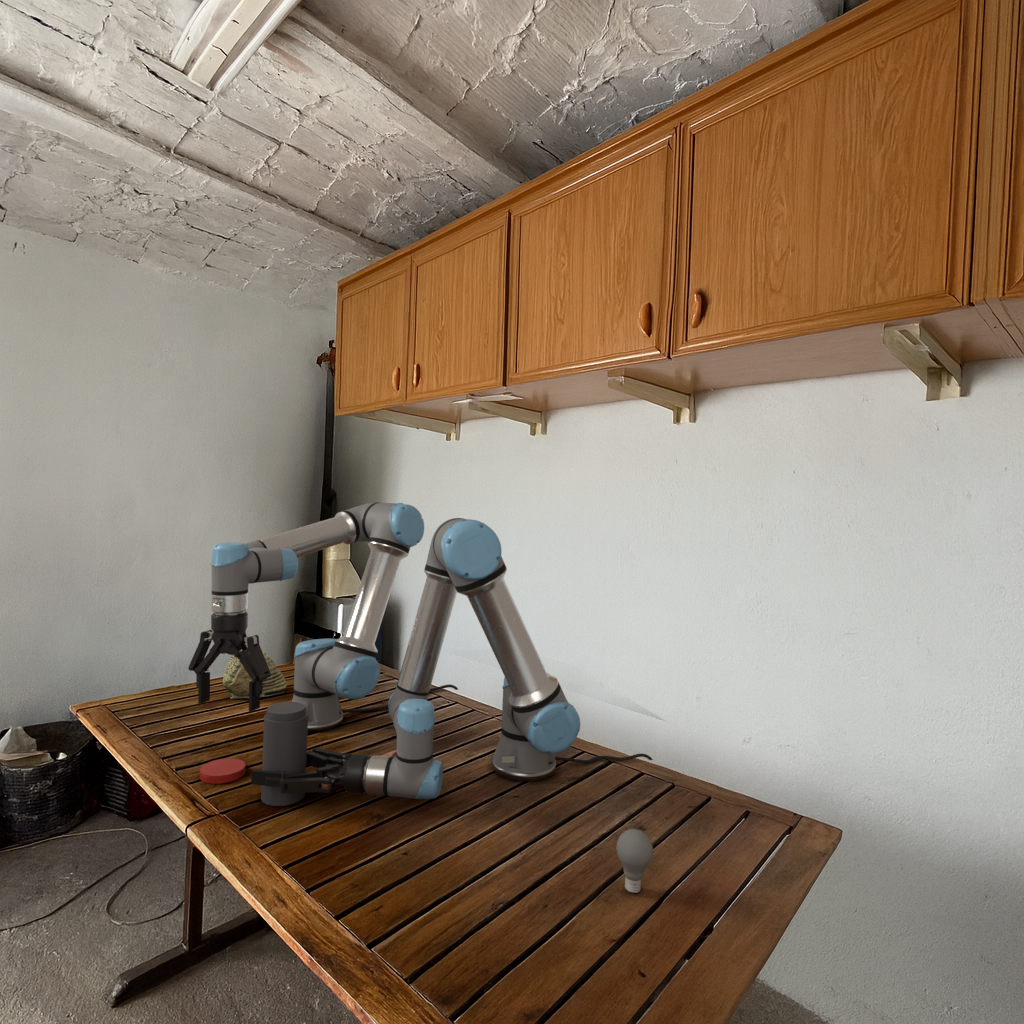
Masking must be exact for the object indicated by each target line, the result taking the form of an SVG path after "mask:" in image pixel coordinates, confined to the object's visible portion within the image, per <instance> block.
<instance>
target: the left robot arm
mask: <svg viewBox="0 0 1024 1024" xmlns="http://www.w3.org/2000/svg"><path fill="white" fill-rule="evenodd" d="M424 535H425V521H424V519H423V515H422V514H421V512H420V510H418V508H417V507H415V506H414V505H411V504H407V503H403V502H397V503H394V502H380V501H374V502H368V503H364V504H361V505H358V506H354V507H351V508H348V509H345V510H341V511H338V512H337V513H336V514H335V515H334V517H330V518H328V519H324V520H320V521H317V522H314V523H310V524H307V525H304V526H300V527H298V528H294V529H291V530H287V531H283V532H281V533H277V534H273V535H270V536H267V537H263V538H260V539H258V540H254V541H249V542H247V543H246V542H219V543H216V544H214V545H213V547H212V551H211V562H210V566H211V605H210V606H211V610H210V611H211V612H213V613H212V614H211V615H210V629H208V630H204V631H201V632H200V635H199V642H198V643H197V646H196V648H195V651H194V653H193V656H192V658H191V660H190V662H189V665H188V667H187V668H188V671H190V672H192V671H193V672H194V674H195V675H196V676H195V677H196V678H195V679H196V681H195V682H196V683H195V685H196V688H198V691H197V692H198V693H197V695H198V697H197V699H198V700H197V701H198V702H197V704H198V705H202V704H205V703H206V702H209V701H210V700H211V672H210V671H209V668H210V667H212V665H213V663H215V661H216V660H217V658H218V657H219V656H220V654H221V655H225V654H226V655H229V656H231V655H233V654H234V656H235V657H236V658H238V659H239V660H240V662H241V664H242V665H243V667H244V668H245V670H246V671H247V673H248V674H249V676H250V677H251V679H252V681H250V682H249V698H248V712H255V711H256V710H258V709H260V708H261V697H260V695H261V694H262V692H263V690H262V689H263V688H262V687H263V680H264V679H266V678H268V677H270V676H271V673H270V670H269V668H268V665H267V663H266V660H265V658H264V655H263V652H262V650H261V649H262V647H261V645H260V637H259V635H258V634H254V635H247V629H248V626H249V613H248V612H247V610H248V609H249V585H250V584H258V583H267V582H277V581H279V582H282V581H285V580H291V579H293V578H294V577H295V576H296V575H297V573H298V571H299V559H298V558H301V557H304V556H307V555H310V554H313V553H316V552H319V551H322V550H325V549H328V548H331V547H333V546H337V545H341V544H344V545H351V544H354V543H359V542H360V543H361V542H367V545H368V548H369V549H370V553H369V556H368V559H367V562H366V565H365V569H364V572H363V574H362V577H361V580H360V583H359V586H358V590H357V593H356V596H355V599H354V601H353V605H352V607H351V611H350V614H349V617H348V620H347V622H346V626H345V628H344V629H345V630H344V632H343V634H342V636H340V637H339V638H317V639H308V640H304V641H300V642H299V643H297V645H296V646H295V650H294V655H293V657H294V672H293V673H294V674H293V695H292V696H293V697H292V699H291V702H299V703H302V704H304V705H305V706H306V711H307V712H308V732H307V733H316V732H325V731H329V730H332V729H335V728H337V727H339V726H340V725H342V723H343V722H344V713H347V714H349V713H350V714H353V713H367V712H375V711H381V710H384V709H388V707H389V706H388V704H385V705H380V706H373V707H366V708H352V709H350V708H344V709H343V708H342V706H341V702H340V699H339V698H341V699H347V700H352V701H357V700H360V699H363V698H366V696H367V695H370V694H371V693H372V691H373V690H374V689H375V688H376V686H377V684H378V682H379V680H380V676H381V667H380V664H379V661H378V660H377V656H378V653H379V651H378V649H377V647H376V644H375V643H376V641H377V638H378V635H379V631H380V628H381V624H382V621H383V618H384V615H385V612H386V609H387V605H388V602H389V599H390V596H391V593H392V590H393V586H394V583H395V580H396V577H397V574H398V571H399V567H400V564H401V561H402V560H403V559H405V558H407V557H408V556H409V553H410V551H411V548H413V547H416V546H417V545H418V544H419V543H421V541H422V539H423V537H424ZM212 642H213V645H212V646H211V644H212ZM210 647H211V648H210ZM241 649H242V651H241ZM208 651H209V652H208ZM448 688H452V689H454V690H455V691H457V690H459V687H457V686H456V685H454V684H444V685H440V686H436V687H433V688H432V687H431V688H430V690H429V693H431V692H436V691H440V690H443V689H448Z"/></svg>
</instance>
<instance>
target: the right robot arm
mask: <svg viewBox="0 0 1024 1024" xmlns="http://www.w3.org/2000/svg"><path fill="white" fill-rule="evenodd" d="M501 544H502V543H501V541H500V538H499V536H498V535H497V533H496V532H495V530H494V529H492V528H491V527H490V526H488V525H487V524H486V523H484V522H482V521H480V520H477V519H472V518H471V519H470V518H468V519H467V518H462V517H453V518H450V519H447V520H445V521H444V522H442V523H440V525H439V526H438V527H437V528H436V529H435V531H434V533H433V535H432V537H431V540H430V545H429V549H428V553H427V559H426V562H425V566H424V570H423V572H424V573H425V575H426V579H425V583H424V586H423V590H422V593H421V596H420V600H419V604H418V608H417V611H416V614H415V619H414V622H413V625H412V626H413V627H412V629H411V633H410V636H409V640H408V644H407V647H406V651H405V653H404V658H403V661H402V664H401V668H400V672H399V674H398V675H399V676H398V679H397V684H396V686H395V690H394V692H392V693H391V695H390V697H389V699H388V703H387V705H388V706H389V707H388V708H387V709H388V714H389V717H390V718H391V720H392V724H393V726H394V730H395V732H396V733H395V734H396V750H397V752H396V757H389V756H381V755H375V754H374V755H372V756H370V754H369V755H368V754H358V753H355V754H353V753H347V752H346V753H345V752H338V751H333V750H328V749H324V748H319V747H313V748H312V749H311V750H307V759H306V768H307V767H309V766H311V767H313V768H316V770H310V771H306V772H301V773H293V774H285V771H283V772H277V771H265V770H262V769H252V770H251V778H250V779H251V780H250V784H251V785H254V786H262V785H265V786H277V787H281V788H280V793H283V794H284V793H305V794H306V793H324V794H331V793H332V791H333V790H332V789H333V787H336V786H343V787H344V790H345V792H346V793H347V794H354V795H355V794H357V795H363V794H364V793H366V795H373V796H378V797H380V798H381V797H383V796H384V797H386V796H387V797H396V798H407V799H415V800H433V799H436V798H437V797H439V796H440V793H441V790H442V786H443V779H444V764H443V762H442V761H441V760H437V759H434V752H433V751H434V737H435V736H434V733H435V732H434V731H435V723H436V717H435V706H434V704H433V702H432V701H429V700H428V698H429V694H430V692H429V690H430V689H431V688H432V683H433V679H434V675H435V673H436V668H437V665H438V662H439V658H440V655H441V652H442V648H443V644H444V641H445V636H446V633H447V629H448V626H449V622H450V618H451V615H452V612H453V608H454V606H455V605H454V604H455V601H456V598H457V594H460V595H463V596H466V597H467V598H468V601H469V603H470V605H471V608H472V610H473V612H474V614H475V616H476V618H477V620H478V623H479V625H480V627H481V629H482V631H483V634H484V635H485V637H486V641H488V644H489V646H490V648H491V651H492V652H493V655H494V657H495V659H496V661H497V663H498V665H499V667H500V670H501V672H502V675H503V676H504V678H503V685H502V708H501V709H502V710H501V730H500V731H501V733H500V737H499V739H498V743H497V745H496V747H495V748H496V749H495V751H494V752H493V753H494V754H493V756H492V761H491V762H492V763H491V765H492V766H491V767H492V770H493V771H494V772H495V773H496V774H497V775H498V776H500V777H502V778H505V779H507V780H510V781H515V782H539V781H543V780H546V779H548V778H550V777H552V776H553V775H554V774H555V773H556V769H557V767H556V766H557V761H559V762H561V761H562V762H570V763H571V762H573V763H577V764H578V763H579V764H590V763H593V762H595V761H597V760H611V761H620V762H621V761H622V762H623V761H630V760H633V759H636V758H641V757H642V758H646V759H647V760H648V761H653V758H652V757H651V756H650V755H648V754H647V753H636V754H632V755H629V756H612V755H597V756H593V757H591V758H590V759H589V758H588V759H578V758H572V757H559V756H555V755H556V754H561V753H563V752H564V751H567V750H568V749H569V748H570V747H571V746H572V745H573V744H574V743H575V741H577V738H578V735H579V733H580V730H581V718H580V715H579V713H578V710H577V709H576V708H575V707H574V705H573V704H572V703H569V701H568V699H567V697H566V695H565V693H564V690H563V689H562V687H561V684H560V682H559V680H558V678H557V677H556V676H554V675H551V674H550V673H548V672H547V670H546V668H545V666H544V663H543V661H542V660H541V657H540V656H539V653H538V650H537V649H536V645H535V644H534V642H533V639H532V638H531V635H530V632H529V630H528V629H527V626H526V624H525V622H524V620H523V617H522V616H521V613H520V611H519V608H518V607H517V605H516V603H515V600H514V598H513V596H512V594H511V592H510V588H509V587H508V585H507V583H506V581H505V577H506V575H507V574H506V573H507V571H508V568H507V566H506V563H505V560H504V559H503V557H502V545H501Z"/></svg>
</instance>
